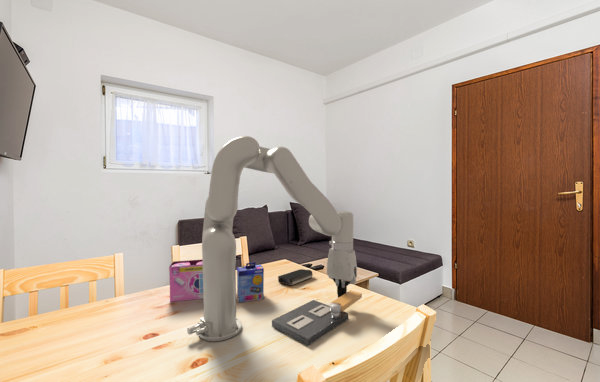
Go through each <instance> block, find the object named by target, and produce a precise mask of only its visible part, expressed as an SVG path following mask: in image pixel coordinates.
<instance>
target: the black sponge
mask: <svg viewBox="0 0 600 382" xmlns="http://www.w3.org/2000/svg"><path fill="white" fill-rule="evenodd" d="M312 277H313V271H312V270H310V269H304V268H301V269H300V268H299V269H297V270H293V271H290V272H288V273H284V274H282V275H278V276H277V279H278V283H279V284H284V285H289V286H293V285H296V284H299V283H300V282H304V281H306V280H309V279H310V278H312Z"/></svg>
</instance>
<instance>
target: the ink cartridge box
mask: <svg viewBox="0 0 600 382" xmlns="http://www.w3.org/2000/svg"><path fill="white" fill-rule="evenodd" d="M245 263H246V264H245V266H244V265H243V266H238V267H236V283H237V285H236V298H237V300H238V303H245V302H251V301H259V300H263V299H264V295H265V294H264V277H265V275H264V274H265V273H264V272H265V271H264V270H265V268H264V267H263V265H262V264H257V263H256V261H253V262H245Z"/></svg>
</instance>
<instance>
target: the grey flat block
mask: <svg viewBox="0 0 600 382" xmlns="http://www.w3.org/2000/svg"><path fill="white" fill-rule="evenodd" d="M348 320H349V312H347V311H345V310H344V311H341V312H339V313H334V312H331V311H330V305H328V304H326V303H323V302H320V301H318V300H315V299H312V300H311V301H308V302H306V303H304V304H302V305H300V306H298V307H296V308H294V309H291V310H290V311H288V312H286V313H284V314H282V315H280V316H278V317H275V318H273V319H271V327H272V328H273V329H276V330H277V331H280V332H282V333H284V334H285V335H286V336H289V337H290V338H292V339H294V340H296V341H298V342H299V343H302V344H304V345H305V346H307V347H309V346H310V345H311V344H313V343H315V342H316V341H319V339H321V338H322V337H323V336H325V335H326V334H328V333H330V332H331V331H333V330H335V329H336V328H337V327H339V326H340V325H342V324H344V323H345V322H347V321H348Z"/></svg>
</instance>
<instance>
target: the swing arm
mask: <svg viewBox="0 0 600 382" xmlns="http://www.w3.org/2000/svg"><path fill="white" fill-rule="evenodd" d="M362 294H363V293H361V292H359V291H355V290H349V291H347V293H345V294H344V295H342V296H340V297H339V298H338V297H337V298H336V299H334V300H332V301H331V302H330V304H329V306H330V311H331V312H334V313H339V312H341V311H344V312H345V310H347V309H348V308H349V307H352V305H354V304H355V303H357V302H358V301H359V300H361V299H362V298H363V295H362Z"/></svg>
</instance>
